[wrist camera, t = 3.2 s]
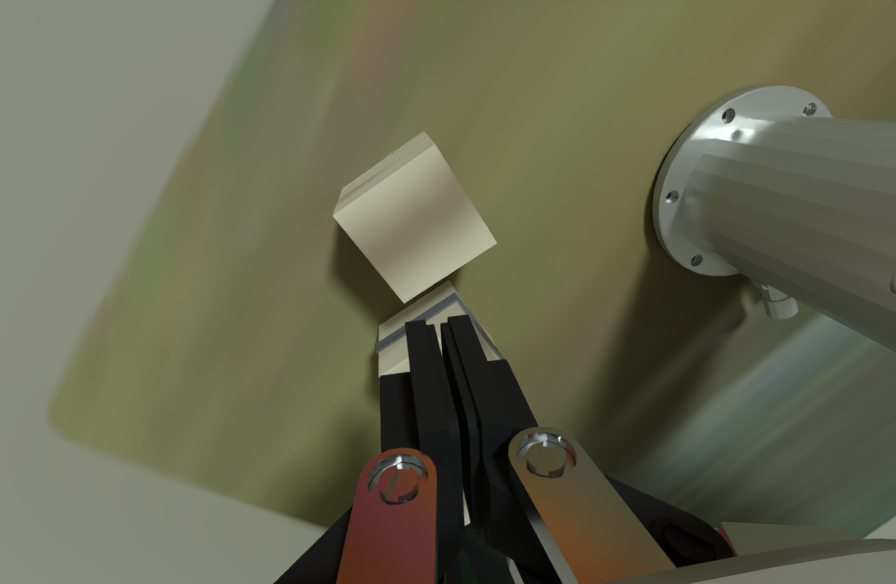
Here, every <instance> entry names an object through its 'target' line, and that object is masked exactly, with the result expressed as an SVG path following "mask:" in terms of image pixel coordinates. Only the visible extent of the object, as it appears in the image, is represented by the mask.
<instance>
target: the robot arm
mask: <svg viewBox="0 0 896 584" xmlns="http://www.w3.org/2000/svg"><path fill="white" fill-rule="evenodd" d="M652 214H653V225H654V229H655V232H656V236H657V239H658V240H659V242H660V244H661V246H662V247H663V249H664V251H665V252H666V253H667V254H668V255H669V256H670V257H671V258H672V259H673V260H674V261H676V262H677V263H679V264H680V265H682V266H683V267H685V268H687V269H689V270H691V271H693V272H696V273H698V274H703V275H708V276H729V275H734V274H739V273H741V274H743V275H745V276H746V277H748V278H750V280H751V283H752V284H753V285H754V286H755V287H756V288H759V289H760V291H761V294H760V295H761V298H762V301H763V305H764V308H765V311H766V313H767V315H768V316H769V317H771V318H773V319H779V320H780V319H788V318H790V317H792V316H794V315H795V314H796V313H797V312H798V305H797V301H796V300H798V301H799V302H801V303H803V304H805V305H807V306H809V307H811V308H813V309H815V310H817V311H819V312H820V313H822V314H824V315H826V316H828V317H830V318H832V319H834V320H836V321H838V322H840V323H841V324H843V325H845V326H847V327H849V328H851V329H853V330H855V331H857V332H859V333H861V334H862V335H864V336H866V337H868V338H870V339H872V340H874V341H876V342H878V343H880V344H881V345H883V346H885V347H887V348H889V349H891V350H893V351H895V352H896V123H893V122H880V121H867V120H855V119H842V118H833V117H832V115H831V113H830V112H829V110H828V108H827V107H826V105H825V104H824V103H822V102H821V101H820V100H819V99H818V98H817V97H816V96H815V95H813V94H811V93H809V92H807V91H805V90H803V89H800V88H795V87H789V86H759V87H754V88H748V89H745V90H742V91H740V92H737V93H734V94H732V95H729V96H727V97H726V98H724V99H722V100H721V101H719V102H717V103H716V104H714V105H712V106H711V107H709V108H708V109H707V110H706V111H705V112H703V113H702V114H701V115H700V116H699V117H697V118H696V119H695V120H694V121H693V122H692V123H691V124H690V125H689V126H688V128H687V129H686V130H685V131H684V132H683V133H682V134H681V135H680V137H679V138H678V140H677V141H676V143H675V144H674V146H673V147H672V149H671V150H670V152H669V153H668V155H667V157H666V159H665V161H664V164H663V166H662V168H661V170H660V172H659V175H658V179H657V182H656V186H655V189H654V196H653V204H652ZM405 330H406V339H407V349H408V358H409V367H410V372H403V373H395V374H388V375H380V411H381V453H380V454H378V455H377V456H376V457H374V458H373V459H371V460H370V461H369V462H368V463H367V465H366V466H365V467H364V468H363V470H362V472H361V475H360V477H359V480H358V485H357V490H356V494H355V499H354V503H353V506H352V507H351V508H350V509H349V510H348V511H347V512H346V513H345V514H344V515H343V516H342V517H341V518H340V519H339V520H338V521H337V522H336V523H335V524H333V525H332V526H331V527H330V528H329V529H328V530H327V531H326V532H325V533H324V534H323V535H322V536H321V538H319V539H318V540H317V541H316V542H315V543H314V544H313V545H312V546H311V547H310V548H309V549H308V550H307V551H306V552H305V553H304V554H303V555H302V556H301V557H300V558H299V559H298V560H297V561H296V562H295V563H294V564H293V565H292V566H291V567H290V568H289V569H288V570H287V571H286V572H285V573H284V574H283V575H282V576H281V577H280V578H279V579H278V580H277V581H276V582H275V583H274V584H446V575H445V573H446V572H447V570H448V569H449V567H450V566H451V564H452V563H453V562H454V560H455V559H456V557H457V556H458V555H459V553H460V539H459V533H463V532H465V521H464V501H463V492H464V496H465V501H466V505H467V510H468V515H469V519H470V524H471V528H472V530H473V531H474V530H480V529H481V532H482V536H483V540H484V545H490V544H491V547H493V548H494V549H496V550H498V551H499V552H501V553H502V554H504V555H505V556H507V563H508V566H509V570H510V572H511V574H512V577H513V579H514V581H515V584H896V539H860V538H859V537H857V536H854V535H852V534H850V533H847V532H845V531H843V530H839V529H834V528H829V527H820V526H799V525H778V524H757V523H736V522H720V525H719V528H713V527H711V526H710V525H709V524H707V523H706V522H704V521H702V520H701V519H699V518H697V517H695V516H693V515H691V514H689V513H687V512H685V511H682V510H680V509H678V508H676V507H674V506H671V505H669V504H667V503H665V502H663V501H660V500H658V499H656V498H654V497H652V496H649V495H647V494H645V493H643V492H641V491H638V490H636V489H634V488H632V487H630V486H628V485H625V484H623V483H621V482H619V481H617V480H614V479H612V478H610V477H608V476H606V475H603V474H602V472H601V471H600V470H599V469H598V467H597V466H596V465H595V463H594V462H593V461H592V460H591V458H590V457H589V456H588V454H587V453H586V452H585V451H584V449H583V448H582V447H581V446H580V444H579V443H578V442H577V441H576V440H575V439H574V438H573V437H572V436H570V435H568V434H566V433H565V432H563V431H561V430H557V429H554V428H551V427H539V426H538V424H537V422H536V420H535V418H534V416H533V414H532V412H531V410H530V407H529V405H528V403H527V401H526V399H525V397H524V395H523V393H522V391H521V389H520V386H519V384H518V382H517V380H516V378H515V376H514V374H513V372H512V370H511V368H510V366H509V363H508V362H507V360H505V359H500V360H492V361H487V358H486V356H485V353H484V351H483V348H482V346H481V343H480V341H479V339H478V336H477V334H476V331H475V329H474V326H473V324H472V321H471V319H470V316H469V315H468V314H466V315H458V316H450V317H448V318H447V322H445V323H440V332H441V346H442V354H441V350H440V345H439V341H438V337H437V333H436V329H435V325H434V324H429V325H426V320H416V321H408V322H405Z"/></svg>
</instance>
